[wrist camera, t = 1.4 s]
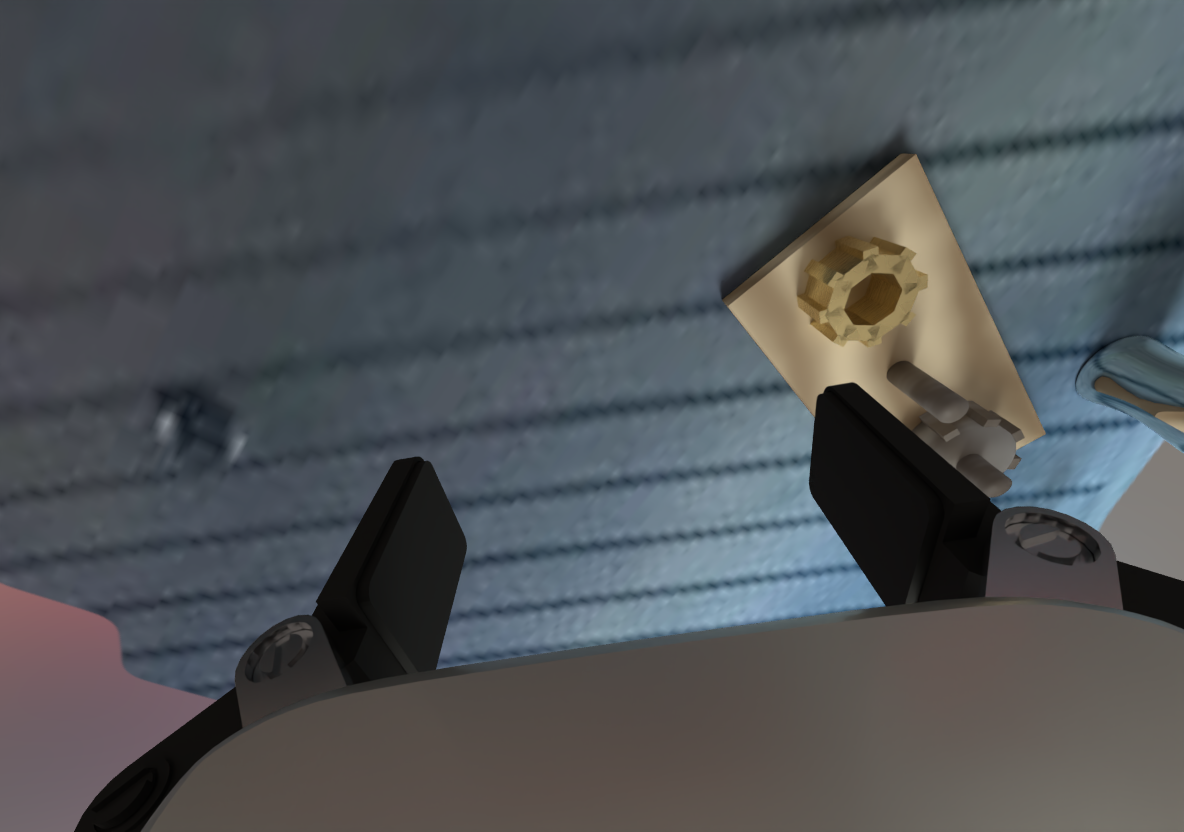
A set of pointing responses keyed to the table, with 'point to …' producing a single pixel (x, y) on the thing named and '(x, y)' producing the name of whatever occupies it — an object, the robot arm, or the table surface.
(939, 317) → the gear board
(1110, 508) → the table surface
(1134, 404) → the beer glass
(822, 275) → the brass gear
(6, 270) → the table surface
